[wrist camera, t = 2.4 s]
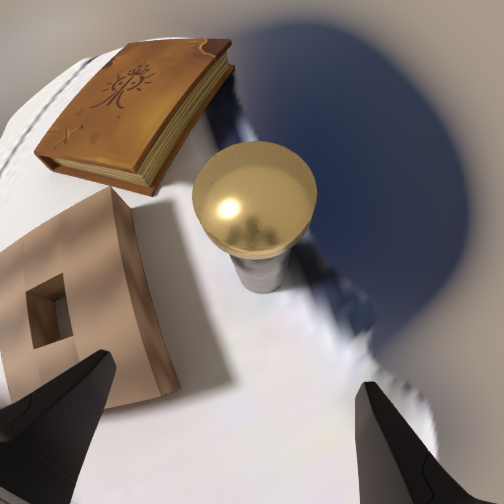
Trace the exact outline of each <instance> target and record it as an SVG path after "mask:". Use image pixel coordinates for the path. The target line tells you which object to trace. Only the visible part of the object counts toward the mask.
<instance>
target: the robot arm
mask: <svg viewBox="0 0 504 504" xmlns="http://www.w3.org/2000/svg"><path fill="white" fill-rule="evenodd" d="M116 369H117V367H116V363H115V361H114V359H113V356H112V354H111V352H110V351H107V350H103V349H100V350H98V351H96V352H95V353H93V354H91V355H90V356H88V357H87V358H85V359H83V360H82V361H80V362H79V363H77V364H76V365H74V366H72V367H71V368H69V369H68V370H66V371H64V372H63V373H61V374H60V375H58V376H57V377H55V378H53V379H52V380H50V381H49V382H47V383H45V384H44V385H42V386H41V387H39V388H38V389H36V390H34V391H33V392H31V393H29V394H28V395H26V396H25V397H23V398H21V399H20V400H18V401H16V402H14V403H12V404H10V405H8V406H6V407H4V408H2V409H0V504H70V502H71V498H72V495H73V492H74V489H75V486H76V482H77V479H78V476H79V473H80V471H81V468H82V465H83V462H84V459H85V456H86V454H87V451H88V448H89V446H90V443H91V440H92V438H93V435H94V433H95V430H96V428H97V425H98V423H99V420H100V418H101V415H102V413H103V410H104V408H105V405H106V403H107V400H108V396H109V393H110V390H111V386H112V383H113V380H114V377H115V373H116ZM355 442H356V452H357V463H358V476H359V491H360V504H496V503H491V502H486V501H482V500H479V499H476V498H474V497H472V496H471V495H469V494H468V493H467V492H466V491H465V490H464V489H463V488H462V487H461V486H460V485H459V484H458V483H457V482H456V481H455V480H454V479H453V478H452V477H451V476H450V475H449V474H448V473H447V472H446V471H445V470H444V468H443V467H442V466H441V465H440V464H439V463H438V461H437V460H436V459H435V458H434V456H433V455H432V454H431V453H430V451H428V449H427V447H426V446H425V445H424V444H423V442H422V441H421V440H420V438H419V437H418V436H417V435H416V433H415V432H414V431H413V429H412V428H411V427H410V426H409V424H408V423H407V422H406V420H405V419H404V418H403V417H402V415H401V414H400V413H399V412H398V410H397V409H396V408H395V407H394V405H393V404H392V403H391V401H390V400H389V399H388V398H387V396H386V395H385V394H384V393H383V391H382V390H381V389H380V388H379V386H378V385H377V384H376V383H375V382H363V383H362V385H361V387H360V389H359V391H358V393H357V395H356V398H355Z"/></svg>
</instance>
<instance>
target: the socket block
mask: <svg viewBox="0 0 504 504" xmlns="http://www.w3.org/2000/svg"><path fill="white" fill-rule="evenodd" d="M65 295H66V299H67V305H68V311H69V316H70V321H71V326H72V331H73V336H71V337H68V338H65V339H63V340H60V337H59V332H58V326H57V321H56V315H55V309H54V302H53V301H54V300H56V299H59V298H61V297H63V296H65ZM100 349H103V350H107V351H110V352H111V354H112V356H113V359H114V361H115V363H116V367H117V369H116V373H115V377H114V380H113V383H112V386H111V390H110V393H109V396H108V400H107V403H106V405H105V408H104V409H106V408H111V407H117V406H121V405H126V404H131V403H135V402H140V401H144V400H148V399H152V398H156V397H160V396H163V395H165V394H168V393H170V392H172V391H175V390H177V389H179V388H181V387H180V384H179V382H178V379H177V377H176V374H175V371H174V368H173V366H172V363H171V360H170V357H169V354H168V351H167V348H166V345H165V342H164V339H163V336H162V333H161V330H160V327H159V324H158V320H157V317H156V314H155V310H154V307H153V303H152V300H151V296H150V293H149V289H148V285H147V281H146V278H145V274H144V270H143V266H142V261H141V257H140V253H139V248H138V244H137V239H136V235H135V230H134V225H133V220H132V214H131V209H130V207H129V206H128V205H127V204H126V203H125V202H124V201H123V200H122V198H121V197H120V196H119V195H118V194H117V193H116V192H115V191H114V190H113V188H112V187H111V186H109V187H107V188H105V189H103V190H101V191H99V192H97V193H95V194H94V195H92V196H90V197H88V198H86V199H84V200H82V201H81V202H79V203H77V204H75V205H73V206H72V207H70V208H68V209H66V210H65V211H63V212H61V213H60V214H58V215H56V216H55V217H53V218H51V219H50V220H48V221H46V222H45V223H43V224H42V225H40V226H38V227H37V228H35V229H34V230H32V231H31V232H29V233H28V234H26V235H25V236H23V237H22V238H20V239H19V240H17V241H16V242H14V243H13V244H12V245H10V246H9V247H7V248H6V249H4V250H3V251H2V252H0V351H1V357H2V362H3V367H4V372H5V377H6V381H7V385H8V389H9V393H10V397H11V400H12V403H14V402H16V401H18V400H20V399H21V398H23V397H25V396H26V395H28V394H29V393H31V392H33V391H34V390H36V389H38V388H39V387H41V386H42V385H44V384H45V383H47V382H49V381H50V380H52V379H53V378H55V377H57V376H58V375H60V374H61V373H63V372H64V371H66V370H68V369H69V368H71V367H72V366H74V365H76V364H77V363H79V362H80V361H82V360H83V359H85V358H87V357H88V356H90V355H91V354H93V353H95V352H96V351H98V350H100Z"/></svg>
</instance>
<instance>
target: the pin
mask: <svg viewBox="0 0 504 504" xmlns="http://www.w3.org/2000/svg"><path fill="white" fill-rule="evenodd" d="M316 197H317V188H316V183H315V179H314V176H313V174H312V172H311V170H310V168H309V167H308V165H307V164H306V163H305V162H304V161H303V160H302V159H301V158H300V157H299V156H298V155H297V154H295V153H294V152H292V151H291V150H289V149H287V148H285V147H283V146H280V145H277V144H273V143H269V142H259V141H253V142H244V143H239V144H236V145H232V146H230V147H227V148H225V149H223V150H221V151H220V152H218V153H217V154H215V155H214V156H213V157H211V158H210V159H209V160H208V161H207V162H206V163H205V164H204V166H203V167H202V168H201V170H200V171H199V173H198V175H197V177H196V180H195V182H194V186H193V193H192V200H193V206H194V211H195V213H196V215H197V218H198V219H199V221H200V223H201V225H202V227H203V229H204V231H205V232H206V234H207V236H208V237H209V238H210V240H211V241H212V242H213V243H214V244H215V245H216V246H217V247H218V248H220V249H221V250H223V251H224V252H226V253H228V254H229V255H230V257H231V260H232V262H233V264H234V267H235V269H236V271H237V273H238V276H239V278H240V280H241V282H242V284H243V285H244V286H245V287H246V288H247V289H248V290H250V291H252V292H254V293H258V294H266V293H270V292H272V291H274V290H276V289H277V288H278V287H279V286H280V285H281V284H282V283H283V281H284V278H285V275H286V271H287V266H288V262H289V257H290V252H291V248H292V247H293V246H294V245H295V244H297V243H298V242H299V240H300V239H301V238H302V237H303V236H304V234H305V232H306V231H307V229H308V227H309V224H310V221H311V217H312V214H313V211H314V208H315V204H316Z"/></svg>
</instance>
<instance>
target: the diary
mask: <svg viewBox="0 0 504 504" xmlns="http://www.w3.org/2000/svg"><path fill="white" fill-rule="evenodd" d="M231 45H232V42H231V40H230V39H168V40H154V41H143V42H135V43H129V44H127V45H126V46H125V47H124V48H123V49H122V50H121V51H120V52H118V53H117V54H116V55H115V56H114V57H113V58H112V59H111V60H110V61H109V62H108V63H107V64H106V65H105V66H104V67H103V68H101V69H100V70H99V71H98V72H97V74H96V75H95V76H94V77H93V78H92V79H91V80H90V81H89V82H88V83H87V84H86V85H85V86H84V87H83V88H82V89H81V91H80V92H79V93H78V94H77V95H76V96H75V97H74V99H73V100H72V101H71V102H70V103H69V104H68V106H67V107H66V108H65V109H64V111H63V112H62V113H61V114H60V116H59V117H58V118H57V119H56V121H55V122H54V123H53V125H52V126H51V127H50V129H49V130H48V131H47V133H46V134H45V136H44V137H43V138H42V140H41V141H40V143H39V144H38V146H37V147H36V149H35V150H34V154H35V155H36V156H37V157H38V158H39V159H40V160H41V161H42V162H43V163H44V164H45V165H46V166H47V167H48V168H49V169H50V170H51V171H53V172H57V173H61V174H65V175H69V176H73V177H77V178H81V179H85V180H89V181H93V182H97V183H101V184H105V185H109V186H113V187H117V188H121V189H124V190H128V191H132V192H136V193H139V194H143V195H147V196H151V197H153V195H154V193H155V191H156V189H157V187H158V186H159V184H160V182H161V180H162V178H163V177H164V175H165V173H166V171H167V169H168V168H169V166H170V164H171V162H172V161H173V159H174V157H175V156H176V154H177V152H178V151H179V149H180V147H181V146H182V144H183V142H184V141H185V139H186V138H187V136H188V134H189V133H190V131H191V130H192V128H193V127H194V125H195V123H196V122H197V120H198V119H199V117H200V116H201V114H202V113H203V111H204V110H205V108H206V107H207V105H208V104H209V103H210V101H211V100H212V98H213V97H214V95H215V94H216V93H217V91H218V90H219V88H220V87H221V86H222V84H223V83H224V81H225V80H226V79H227V77H228V76H229V75H230V73H231V72H232V71H233V70H234V71H235V65H228V58H227V52H226V51H227V49H228V48H229V47H230V46H231Z"/></svg>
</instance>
